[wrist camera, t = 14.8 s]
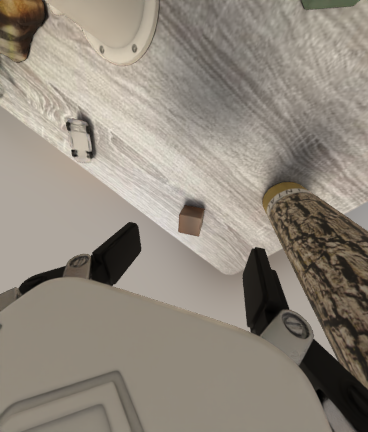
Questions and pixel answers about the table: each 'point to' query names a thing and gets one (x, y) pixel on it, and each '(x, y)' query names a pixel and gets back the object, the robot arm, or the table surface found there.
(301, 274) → the paper tube
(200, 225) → the block
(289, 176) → the table surface
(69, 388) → the robot arm
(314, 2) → the green octagonal container
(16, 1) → the plush toy
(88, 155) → the toy car
